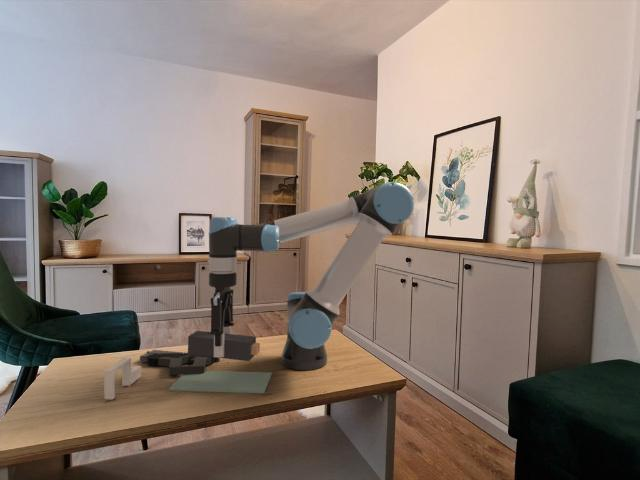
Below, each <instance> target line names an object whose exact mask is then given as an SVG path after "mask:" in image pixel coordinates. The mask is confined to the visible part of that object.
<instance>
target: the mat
mask: <svg viewBox="0 0 640 480" xmlns="http://www.w3.org/2000/svg"><path fill="white" fill-rule="evenodd" d="M272 375H273V373H272V372H268V371H267V372H261V371H226V370H225V371H223V370H222V371H221V370H205V372H204V373H201V374H181V375H180V377H178V379H176V381H175V382H174V383H172V385H171V386H170V387H169V388H168V391H170V392H171V391H173V392H202V393H203V392H205V393H207V392H208V393H209V392H210V393H232V394H233V393H236V394H238V393H239V394H265V392H266V390H267V388H268V386H269V385H268V384H269V383H270V381H271V377H272Z"/></svg>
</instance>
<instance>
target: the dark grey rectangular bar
mask: <svg viewBox="0 0 640 480" xmlns="http://www.w3.org/2000/svg"><path fill="white" fill-rule="evenodd" d="M210 332H211V331H205V330H204V331H203V330H196V331H194V332H193V333H191V334H189V335H188V336H187V337H188V338H187V339H188V340H187V353H188V354H190V355H198V356H207V357H214V334H210ZM256 340H257V336H251V335H242V334H233V333H231V334H224V357H216V358H220V359H225V360H235V361H243V362H244V361H245V362H250V361H251V360H252V359H253V358H254V357H255V356H258V355H259V353H260V351H261V350H260V346H261V343H259V342H257V341H256Z"/></svg>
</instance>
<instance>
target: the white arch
mask: <svg viewBox="0 0 640 480" xmlns="http://www.w3.org/2000/svg"><path fill="white" fill-rule="evenodd" d="M120 370H121V372H122V374H121V376H122V377H121V378H122V379H121V380H122V382H121V383H122V386H128V387H129V386H131V385H132V384H133V383H135V382H136V381H137V380H138V379H140V378H141V377H142V365H134V366H132V357H123V358H121V359H120V360H118V361H117V362H115V363H114V364H112V365H111V366H109V367H108V368H106V369H105V370H104V371H103V379H104V380H103V382H104V385H103V389H104V400H113V399H115V398H116V397H115V395H116V394H115V373H117V372H118V371H120Z"/></svg>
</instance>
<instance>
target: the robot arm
mask: <svg viewBox="0 0 640 480" xmlns="http://www.w3.org/2000/svg"><path fill="white" fill-rule="evenodd" d="M414 207H415V200H414V196H413V194H412V191H411V190H410V189H409V188H408V187H407V186H406V185H405V184H403V183H400V182H396V181H395V182H392V181H388V182H384V183H382V184H381V185H378V186H375V187H372V188H371V189H369V190H366V191H365V192H362V193H360V194H356V195H352V196H350V197H349V199H348V200H347V201H343V202H339V203H338V202H337V203H334V204H331V205H327V206H324V207H323V206H322V207H320V208H316V209H313V210H309V211H305V212H301V213H297V214H293V215H289V216H287V217H286V216H285V217H282V218H279V219H275V220H271V221H266V222H263V223H258V224H240V223H238V219H237V217H232V216H231V217H229V216H227V217H223V216H214V217H212V218H210V220H209V229H208V230H209V232H208V252H209V254H208V259H207V264H208V266H209V268H208V269H209V271H210V272H209V273H208V285H209V286H210V287H211V288H214V293H213V297H211V298H210V307H211V308H210V314H211V315H210V331H209V332H210V334H214V357H224V334H232V327H234V326H235V323H234V289H231V287H235V286H236V285H237V277H238V276H237V272H236V271H237V269H238V267H237V266H238V263H237V262H238V257H237V255H238V254H237V252H246V251H247V252H266V253H268V252H276V251H278V250H279V248H280V244H282V243H286V242H289V241H293V240H296V239H300V238H304V237H308V236H311V235H316V234H319V233H323V232H326V231H330V230H334V229H337V228H340V227H341V228H342V227H345V226H348V225H352V224H353V225H356V226H355V228H354V229H353V231H352V232H351V233H350V235H349V236H348V238H347V240H346V241H345V242H344V244H343V246H342V247H341V249H340V250H339V251H338V253H337V255H336V256H335V258H334V259H333V260H332V262H331V264H330V265H329V267H328V268H327V269H326V271H325V273H324V274H323V276H322V277H321V278H320V280H319V282H318V283H317V285H316V286H315V287H314V288H313V289H310V290H306V291H295V292H290V293H288V294H287V298H286V299H287V300H286V305H287V308H286V309H287V310H286V311H287V313H286V314H287V315H286V318H287V320H286V322H287V324H286V327H287V328H286V340H285V343H284V347H283V349H282V353H281V364H282V365H283V366H285V367H286V368H289V369H291V370H297V371H311V370H316V369H320V368H323V367H324V366H326V365H327V363H328V352H327V349H326V347H325V344H326V342H327V341H328V340H329V339H330V337H331V335H332V330H333V329H332V327H333V325H334V323H335V322H336V320H337V318H338V317H339V316H340V313H341V312H340V307H339V306H340V304H341V303H342V302H343V300H344V299H345V297H346V295H347V294H348V293H349V291H350V289H351V288H352V286H353V285H354V283H355V282H356V280H358V278H359V276H360V274H361V273H362V271H363V270H364V268H365V267H366V265H367V264H368V262H369V261H370V259H371V258H372V256H373V255H374V254H375V252H376V250H377V249H378V247H379V246H380V244H381V243H382V241H383V240H384V239H385V238H388V237H392V236H393V234H394V233H395V232H396V230H397V228H398V226H400V224H402V223H404V222H405V221H406V220H407V219H409V218H410V217H411V215H412V214H413V211H414Z"/></svg>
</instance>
